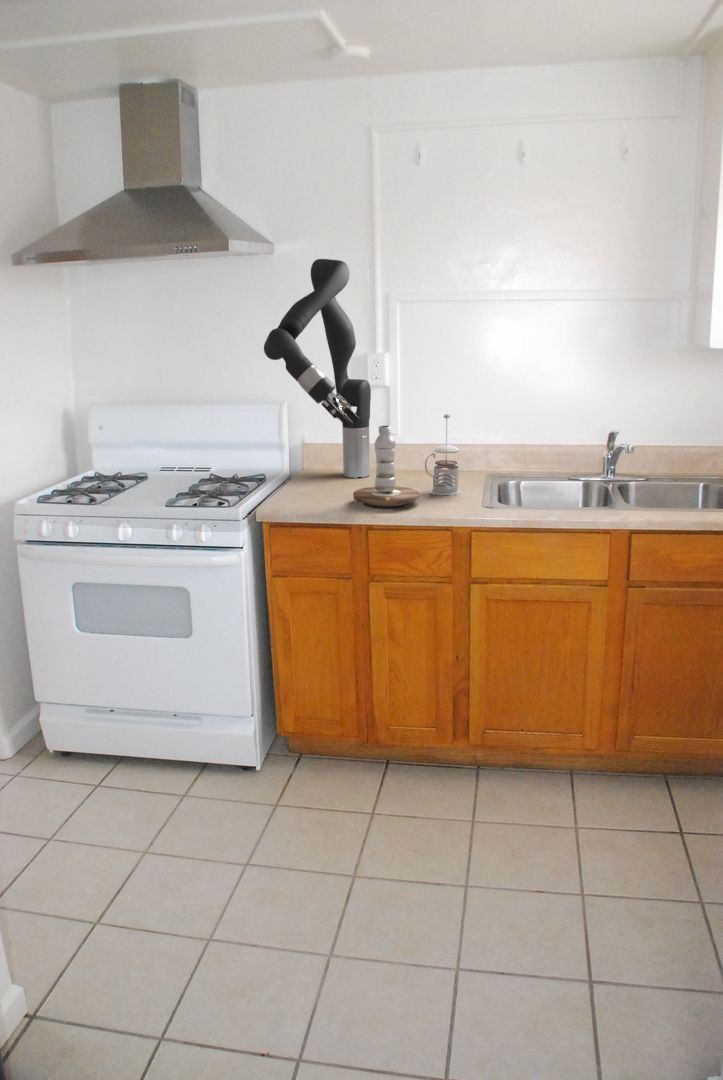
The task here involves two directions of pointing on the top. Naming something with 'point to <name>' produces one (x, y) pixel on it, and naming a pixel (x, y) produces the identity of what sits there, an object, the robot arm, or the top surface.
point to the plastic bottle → (385, 460)
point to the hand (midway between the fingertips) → (353, 423)
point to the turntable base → (386, 506)
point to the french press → (445, 486)
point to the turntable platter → (386, 496)
